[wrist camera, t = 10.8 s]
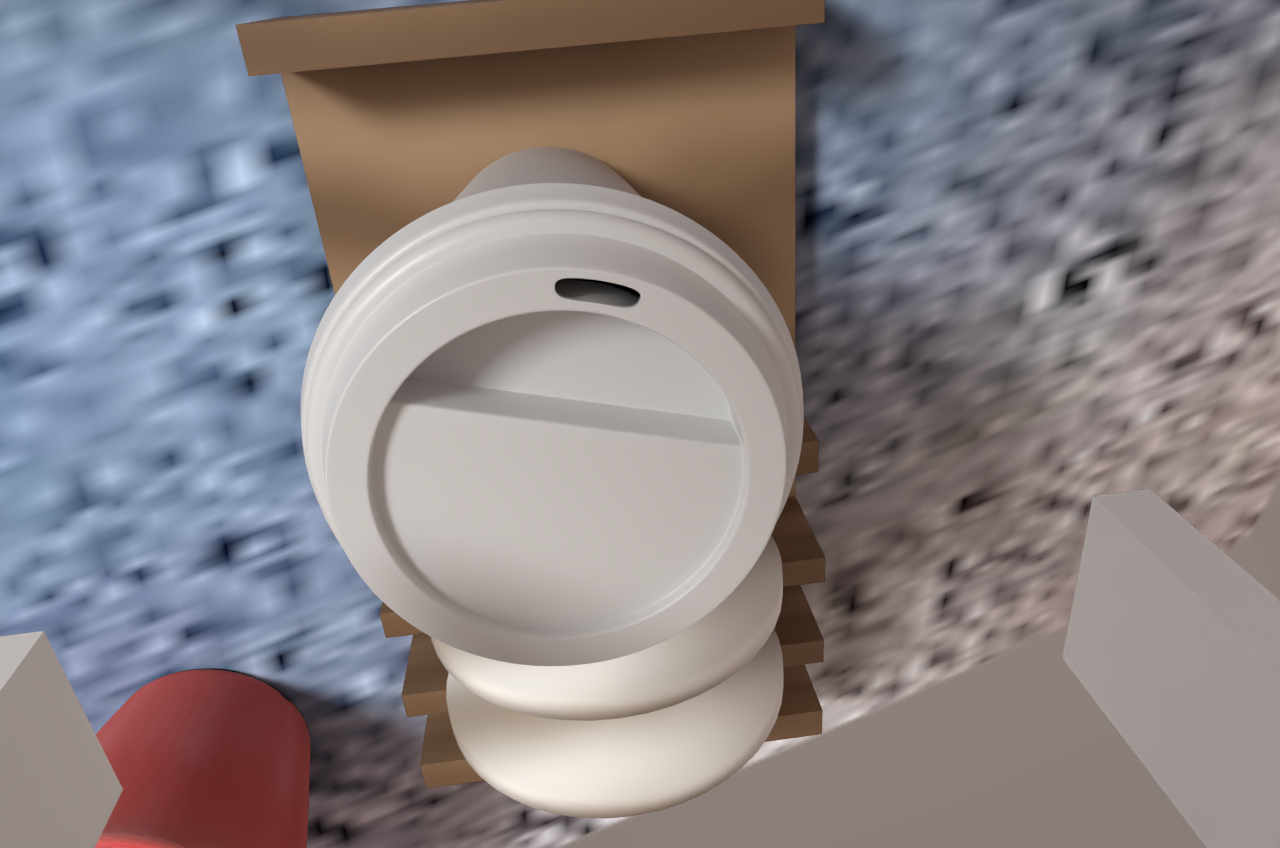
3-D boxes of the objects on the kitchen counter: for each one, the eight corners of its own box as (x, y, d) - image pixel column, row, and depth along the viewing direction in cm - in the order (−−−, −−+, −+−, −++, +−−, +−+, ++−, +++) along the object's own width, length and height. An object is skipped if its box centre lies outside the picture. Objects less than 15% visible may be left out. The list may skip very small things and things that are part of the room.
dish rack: (279, 17, 26) (94, 48, 15) (785, -28, 27) (952, -29, 16) (439, 689, 38) (400, 976, 27) (787, 643, 39) (885, 903, 28)
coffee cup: (755, 203, 29) (945, 401, 15) (597, 431, 32) (641, 761, 18) (492, 25, 26) (444, 80, 12) (345, 297, 29) (179, 577, 15)
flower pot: (351, 641, 36) (293, 850, 28) (345, 829, 41) (294, 1056, 32) (68, 625, 35) (-87, 841, 26) (95, 822, 39) (-29, 1061, 31)
